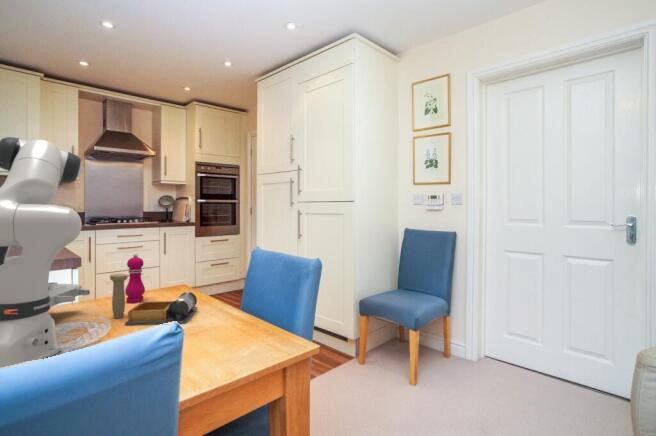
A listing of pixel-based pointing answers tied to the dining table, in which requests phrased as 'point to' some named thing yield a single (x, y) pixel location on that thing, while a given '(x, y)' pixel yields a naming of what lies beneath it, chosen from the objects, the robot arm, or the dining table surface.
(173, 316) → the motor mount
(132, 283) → the pepper mill
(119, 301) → the handle
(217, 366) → the dining table surface
